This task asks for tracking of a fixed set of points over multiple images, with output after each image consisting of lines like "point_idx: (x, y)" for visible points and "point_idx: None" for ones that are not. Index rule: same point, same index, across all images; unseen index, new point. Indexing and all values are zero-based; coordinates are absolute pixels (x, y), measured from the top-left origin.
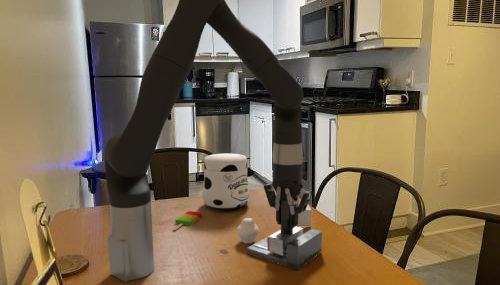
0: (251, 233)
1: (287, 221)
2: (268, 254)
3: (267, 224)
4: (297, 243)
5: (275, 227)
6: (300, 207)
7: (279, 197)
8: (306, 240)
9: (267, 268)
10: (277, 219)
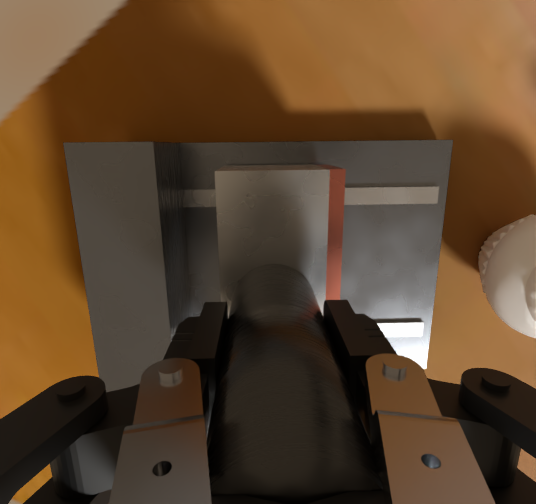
0: (507, 241)
1: (242, 313)
2: (306, 147)
3: (520, 460)
4: (104, 191)
5: None
6: (9, 436)
7: (400, 485)
8: (90, 269)
9: (254, 66)
10: (352, 312)
